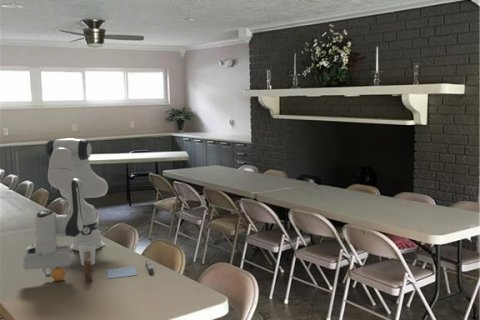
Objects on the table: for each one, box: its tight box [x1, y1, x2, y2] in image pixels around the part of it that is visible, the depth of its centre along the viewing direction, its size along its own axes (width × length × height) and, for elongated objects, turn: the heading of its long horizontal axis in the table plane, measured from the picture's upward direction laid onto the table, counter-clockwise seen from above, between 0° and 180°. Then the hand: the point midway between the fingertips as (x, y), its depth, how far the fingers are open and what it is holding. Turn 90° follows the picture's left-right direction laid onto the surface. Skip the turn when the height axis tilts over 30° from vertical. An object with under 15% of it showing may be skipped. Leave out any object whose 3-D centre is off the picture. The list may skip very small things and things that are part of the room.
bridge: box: [83, 251, 93, 283], centre depth 239 cm, size 3×15×10 cm, turn 17°
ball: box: [51, 267, 66, 282], centre depth 236 cm, size 6×6×6 cm
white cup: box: [78, 242, 96, 266], centre depth 258 cm, size 8×8×10 cm
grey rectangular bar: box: [145, 259, 155, 275], centre depth 248 cm, size 14×2×2 cm, turn 17°
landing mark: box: [106, 266, 138, 280], centre depth 244 cm, size 13×13×1 cm
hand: (48, 277), depth 235 cm, fingers closed
